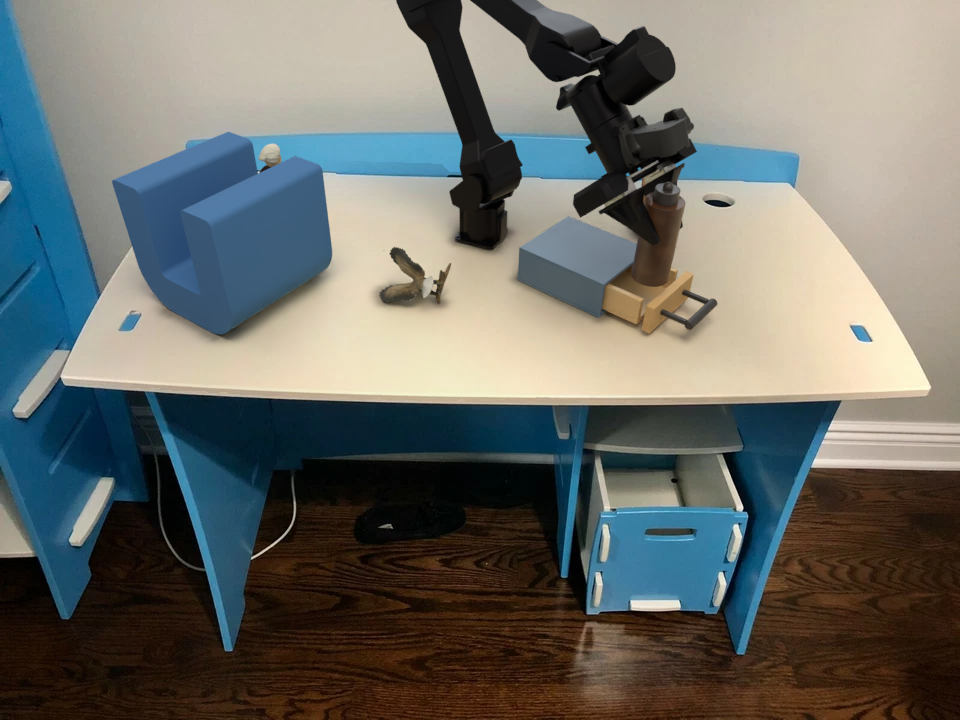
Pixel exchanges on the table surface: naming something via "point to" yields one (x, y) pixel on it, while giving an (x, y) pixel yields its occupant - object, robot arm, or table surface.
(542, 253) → the cabinet
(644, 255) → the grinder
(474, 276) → the table surface
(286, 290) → the block
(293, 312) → the table surface
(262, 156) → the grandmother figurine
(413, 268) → the eagle figurine
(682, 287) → the drawer
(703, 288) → the table surface
